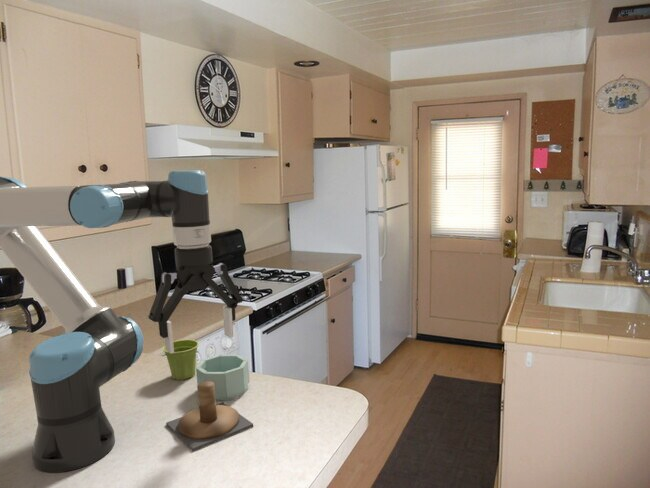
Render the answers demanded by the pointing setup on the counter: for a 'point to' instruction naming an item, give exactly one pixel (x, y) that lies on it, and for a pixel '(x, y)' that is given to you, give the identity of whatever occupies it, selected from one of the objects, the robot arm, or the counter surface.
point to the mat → (200, 443)
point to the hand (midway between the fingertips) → (200, 343)
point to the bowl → (225, 375)
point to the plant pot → (182, 359)
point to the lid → (208, 416)
